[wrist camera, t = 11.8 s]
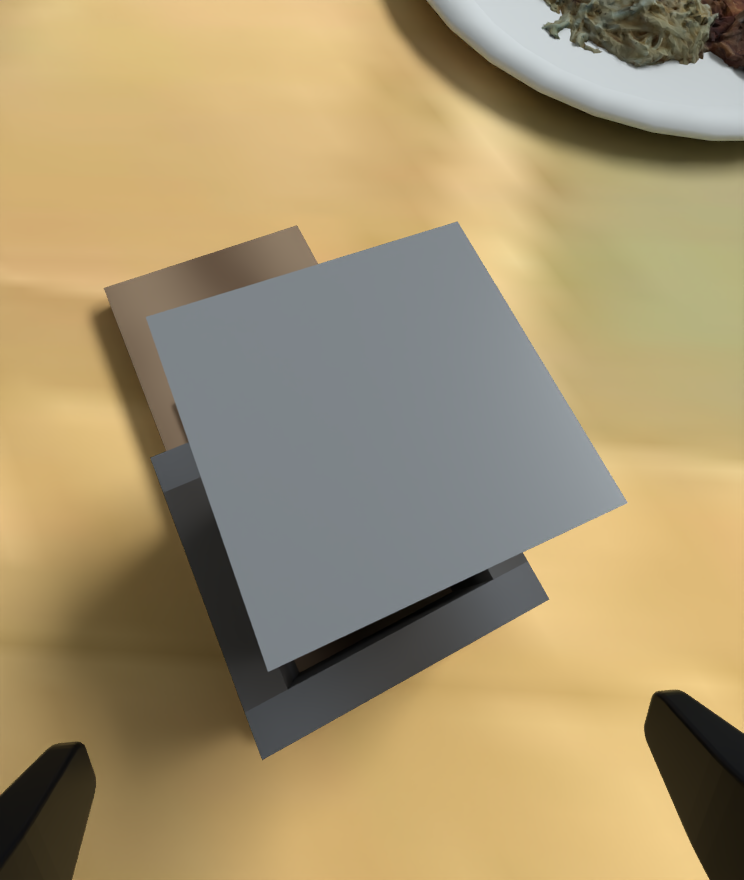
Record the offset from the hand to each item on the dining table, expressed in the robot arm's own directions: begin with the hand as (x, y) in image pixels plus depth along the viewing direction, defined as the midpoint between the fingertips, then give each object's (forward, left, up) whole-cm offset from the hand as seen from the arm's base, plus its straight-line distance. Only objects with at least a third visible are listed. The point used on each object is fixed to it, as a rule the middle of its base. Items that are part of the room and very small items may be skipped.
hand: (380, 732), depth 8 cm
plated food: (+32, +27, -10) cm, 43 cm away
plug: (+1, +4, -8) cm, 9 cm away
